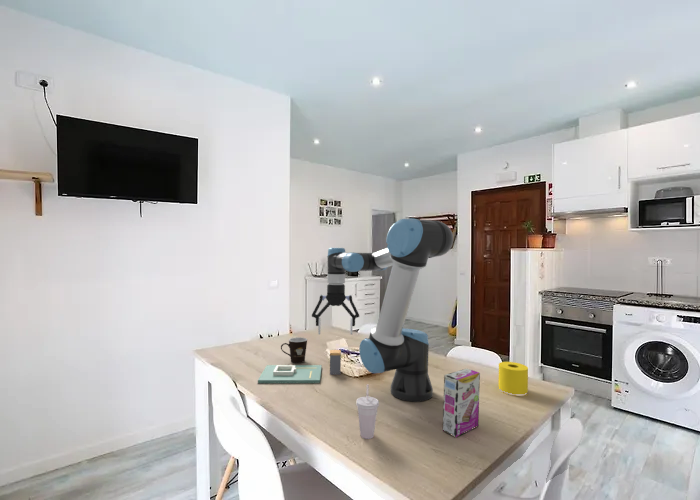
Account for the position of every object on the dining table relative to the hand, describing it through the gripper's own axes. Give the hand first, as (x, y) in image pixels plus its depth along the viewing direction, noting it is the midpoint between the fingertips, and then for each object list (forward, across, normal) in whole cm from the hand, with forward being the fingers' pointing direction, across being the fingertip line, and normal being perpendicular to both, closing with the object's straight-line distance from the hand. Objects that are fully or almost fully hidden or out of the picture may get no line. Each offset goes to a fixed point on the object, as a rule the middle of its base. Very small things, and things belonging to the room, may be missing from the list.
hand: (335, 333), depth 148 cm
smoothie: (+17, -9, +51) cm, 54 cm away
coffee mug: (+17, +19, -16) cm, 30 cm away
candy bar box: (+17, -37, +48) cm, 63 cm away
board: (+16, +18, +3) cm, 25 cm away
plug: (+17, 0, 0) cm, 17 cm away
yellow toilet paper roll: (+17, -67, +20) cm, 72 cm away
